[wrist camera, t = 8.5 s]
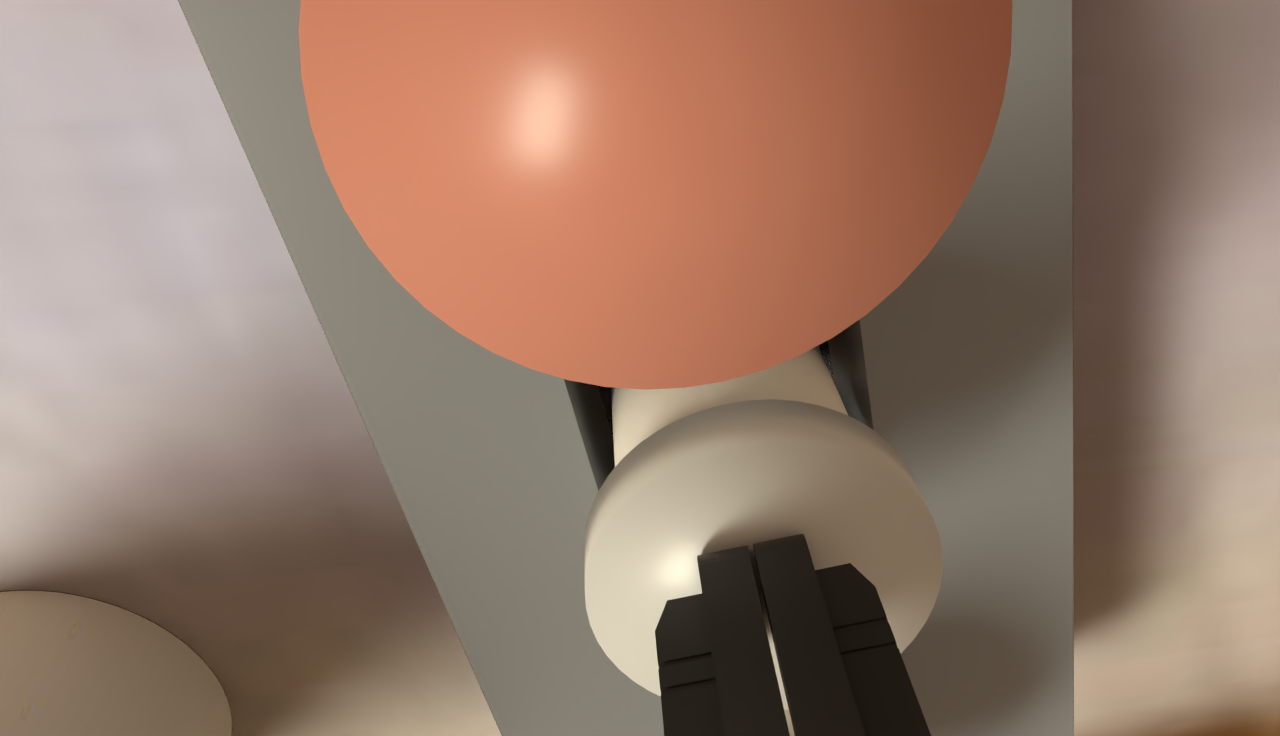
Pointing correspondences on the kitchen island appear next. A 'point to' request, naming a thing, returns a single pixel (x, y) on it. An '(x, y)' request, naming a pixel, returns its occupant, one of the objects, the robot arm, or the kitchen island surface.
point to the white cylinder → (99, 673)
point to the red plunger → (652, 166)
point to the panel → (584, 447)
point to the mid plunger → (748, 502)
